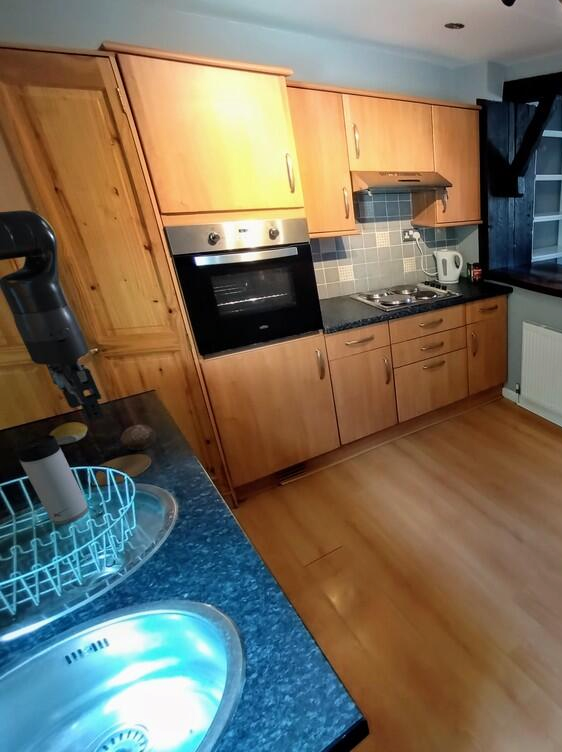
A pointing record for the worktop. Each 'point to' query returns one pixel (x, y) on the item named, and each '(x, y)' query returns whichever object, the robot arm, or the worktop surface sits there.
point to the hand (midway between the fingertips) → (86, 412)
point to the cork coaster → (124, 467)
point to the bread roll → (69, 432)
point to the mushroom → (138, 437)
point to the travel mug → (52, 479)
